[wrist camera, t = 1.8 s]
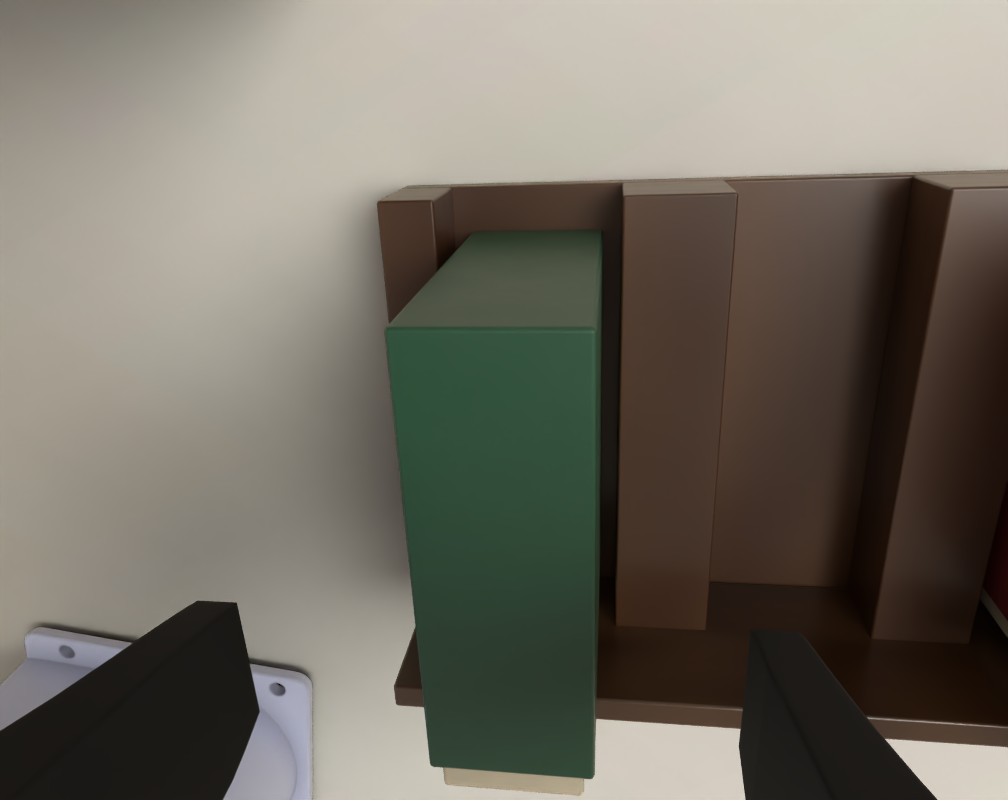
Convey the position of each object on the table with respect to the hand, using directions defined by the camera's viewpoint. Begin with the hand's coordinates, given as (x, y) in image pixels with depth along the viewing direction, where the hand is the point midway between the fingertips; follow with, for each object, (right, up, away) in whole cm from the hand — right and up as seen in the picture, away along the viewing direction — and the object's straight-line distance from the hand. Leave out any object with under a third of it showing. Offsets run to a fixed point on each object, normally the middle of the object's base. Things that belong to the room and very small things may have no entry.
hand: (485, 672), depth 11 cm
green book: (+1, +4, +8) cm, 9 cm away
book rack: (+7, +4, +8) cm, 11 cm away
